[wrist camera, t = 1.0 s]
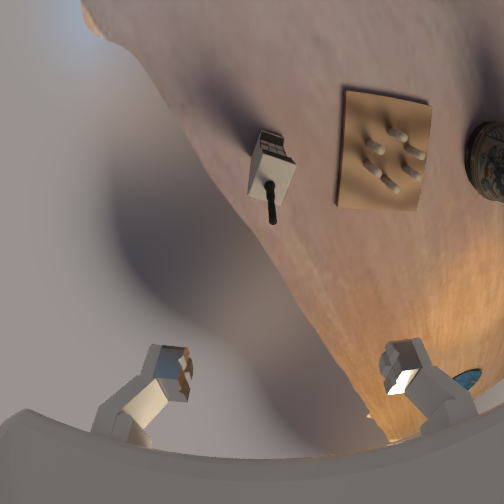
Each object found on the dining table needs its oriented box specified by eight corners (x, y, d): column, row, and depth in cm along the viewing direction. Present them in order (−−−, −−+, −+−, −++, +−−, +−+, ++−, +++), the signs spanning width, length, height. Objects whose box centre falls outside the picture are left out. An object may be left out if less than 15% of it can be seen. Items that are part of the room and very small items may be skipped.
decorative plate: (438, 404, 104) (441, 413, 100) (418, 397, 94) (420, 407, 90) (485, 374, 90) (489, 383, 85) (474, 361, 80) (478, 371, 76)
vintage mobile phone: (284, 137, 42) (310, 195, 21) (273, 165, 44) (286, 248, 23) (261, 129, 41) (263, 179, 20) (251, 157, 44) (242, 235, 23)
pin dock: (344, 90, 37) (356, 91, 31) (428, 105, 36) (448, 110, 31) (336, 205, 48) (345, 221, 42) (413, 208, 47) (428, 224, 42)
